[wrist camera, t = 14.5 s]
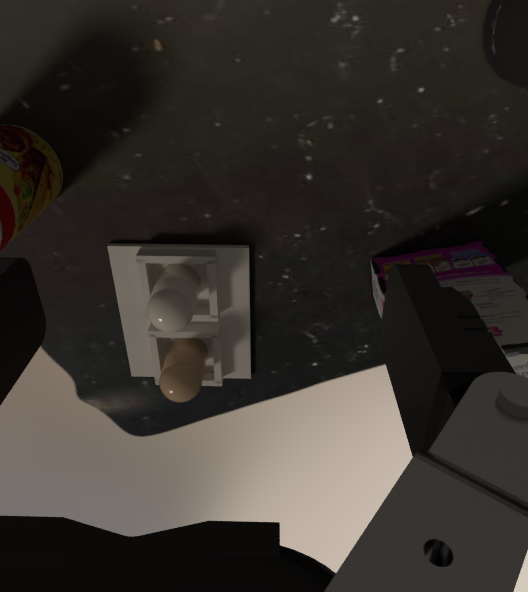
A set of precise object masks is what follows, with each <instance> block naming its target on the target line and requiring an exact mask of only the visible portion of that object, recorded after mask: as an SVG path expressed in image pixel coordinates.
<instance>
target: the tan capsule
mask: <svg viewBox="0 0 528 592" xmlns="http://www.w3.org/2000/svg"><path fill="white" fill-rule="evenodd" d="M207 355H208V349H207V346H206V344H205V343H204V342H203V341H202V340H201V339H199V338H175V339H173V340H172V341H171V343H170V345H169V348H168V352H167V355H166V358H165V362H164V365H163V368H162V371H161V375H160V379H159V384H160V388H161V391H162V393H163V394H164V395H165V396H166V397H167V398H168V399H170V400H172V401H174V402H186V401H189V400H191V399H192V398H194V397H195V396H196V395H197V394H198V392H199V391H200V389H201V386H202V381H203V375H204V370H205V365H206V360H207Z"/></svg>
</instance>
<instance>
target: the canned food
mask: <svg viewBox="0 0 528 592" xmlns="http://www.w3.org/2000/svg"><path fill="white" fill-rule="evenodd" d="M62 185H63V171H62V168H61V164H60V161H59V159H58V157H57V155H56V153H55V151H54V150H53V149H52V148H51V147H50V145H49V144H48V143H47V142H46V141H45V140H44V139H43V138H41V137H40V136H39V135H37V134H36V133H34V132H32V131H30V130H28V129H26V128H24V127H20V126H16V125H0V251H1V250H2V249H3V248H4V247H5V246H6V245H7V244H8V243H9V242H10V241H11V240H13V239H14V238H15V237H16V236H17V235H18V234H19V233H20V232H21V231H22V230H23V229H24V228H25V227H26V226H28V225H29V224H30V223H31V222H32V221H33V220H34V219H35V218H36V217H37V216H38V215H39V214H40V213H41V212H43V211H44V210H45V209H46V208H47V207H48V206H49V205H50V204H51V203H52V202H53V201H54V200H55V199H56V198H57V196H58V195H59V193H60V191H61V188H62Z"/></svg>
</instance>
